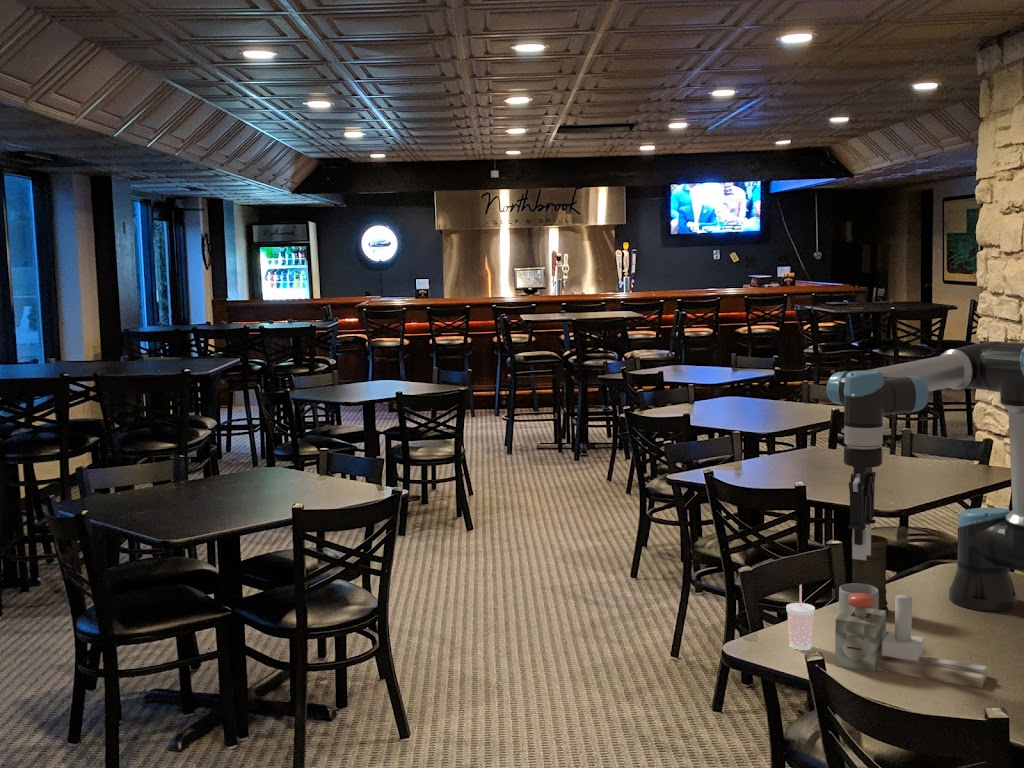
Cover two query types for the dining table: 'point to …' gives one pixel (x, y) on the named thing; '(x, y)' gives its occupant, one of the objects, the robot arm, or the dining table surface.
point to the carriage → (903, 633)
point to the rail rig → (864, 652)
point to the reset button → (861, 603)
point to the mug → (857, 588)
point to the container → (873, 569)
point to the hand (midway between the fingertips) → (861, 556)
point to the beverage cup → (800, 624)
